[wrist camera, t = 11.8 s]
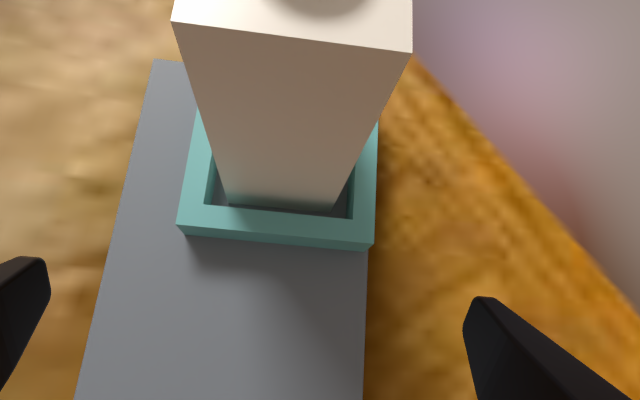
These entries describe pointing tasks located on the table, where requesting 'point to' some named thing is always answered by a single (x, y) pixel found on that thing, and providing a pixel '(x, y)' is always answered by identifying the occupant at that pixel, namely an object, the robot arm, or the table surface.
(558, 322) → the table surface
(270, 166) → the column
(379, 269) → the table surface
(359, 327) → the baseplate
